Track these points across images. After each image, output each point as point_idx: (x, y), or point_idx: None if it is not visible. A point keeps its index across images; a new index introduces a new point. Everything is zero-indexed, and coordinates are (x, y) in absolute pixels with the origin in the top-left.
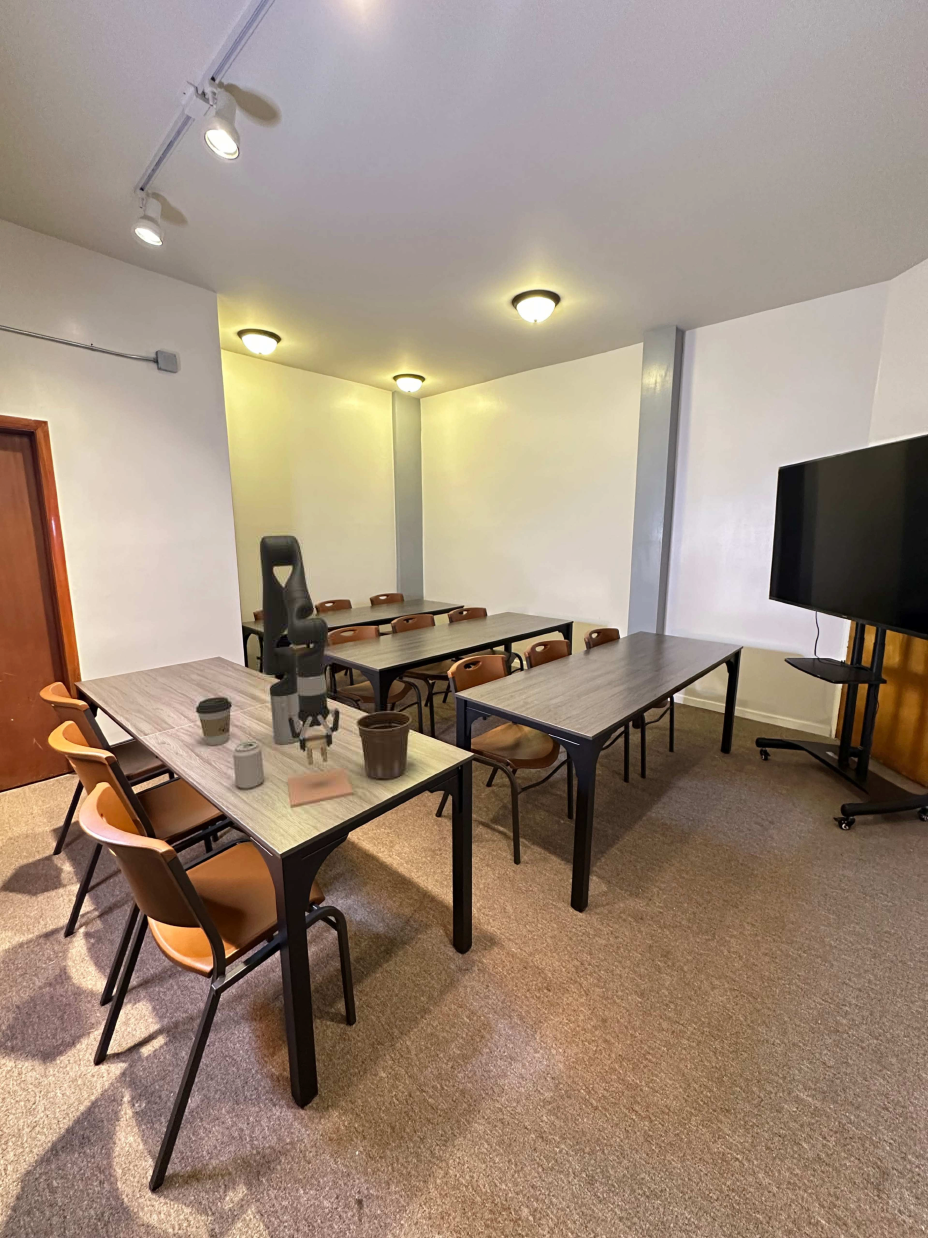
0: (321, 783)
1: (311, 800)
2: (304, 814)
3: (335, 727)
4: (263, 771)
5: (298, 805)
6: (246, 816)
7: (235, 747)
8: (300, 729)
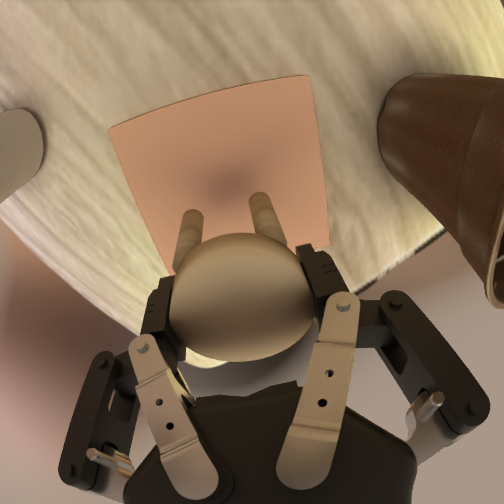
0: (236, 181)
1: None
2: None
3: (389, 353)
4: (27, 137)
5: None
6: (90, 291)
7: None
8: (137, 379)
